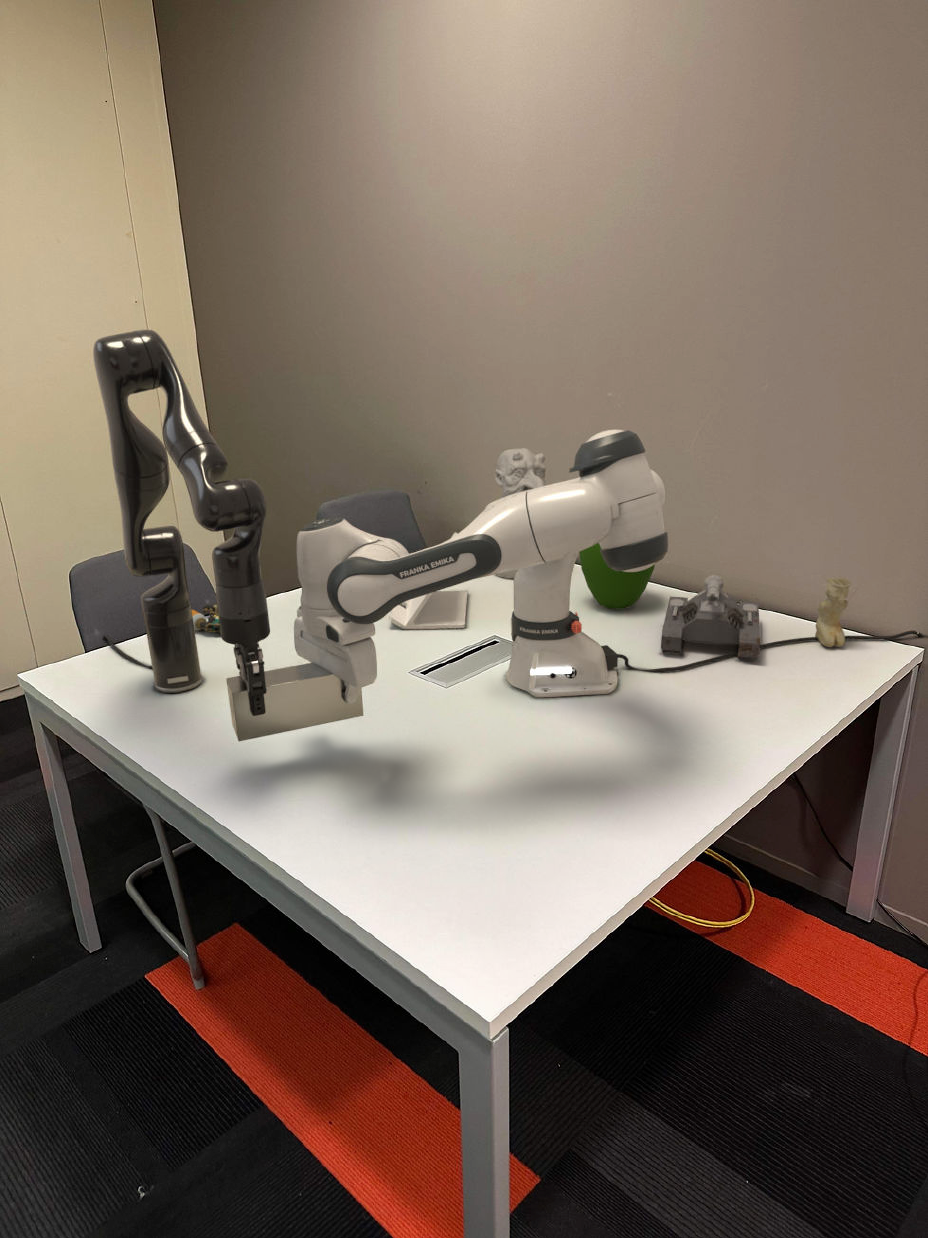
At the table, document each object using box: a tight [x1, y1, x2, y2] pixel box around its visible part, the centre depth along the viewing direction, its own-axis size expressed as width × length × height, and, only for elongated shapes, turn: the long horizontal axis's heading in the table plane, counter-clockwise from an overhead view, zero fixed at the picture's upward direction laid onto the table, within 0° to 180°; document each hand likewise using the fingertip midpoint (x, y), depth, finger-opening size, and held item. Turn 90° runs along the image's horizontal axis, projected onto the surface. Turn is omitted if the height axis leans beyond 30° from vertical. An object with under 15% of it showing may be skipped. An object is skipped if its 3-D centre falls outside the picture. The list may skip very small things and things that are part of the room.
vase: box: [578, 543, 656, 610], centre depth 210 cm, size 20×20×24 cm
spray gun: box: [191, 603, 221, 633], centre depth 209 cm, size 4×17×15 cm
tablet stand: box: [388, 531, 468, 630], centre depth 211 cm, size 18×25×17 cm
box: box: [226, 662, 364, 742], centre depth 141 cm, size 21×6×9 cm, turn 113°
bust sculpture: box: [494, 447, 547, 579], centre depth 231 cm, size 16×24×35 cm
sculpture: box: [814, 576, 852, 648], centre depth 185 cm, size 6×7×15 cm
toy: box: [660, 574, 761, 660], centre depth 189 cm, size 25×20×15 cm
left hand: (254, 705), depth 138 cm, fingers closed on box, 6 cm apart
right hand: (336, 694), depth 143 cm, fingers closed on box, 7 cm apart
